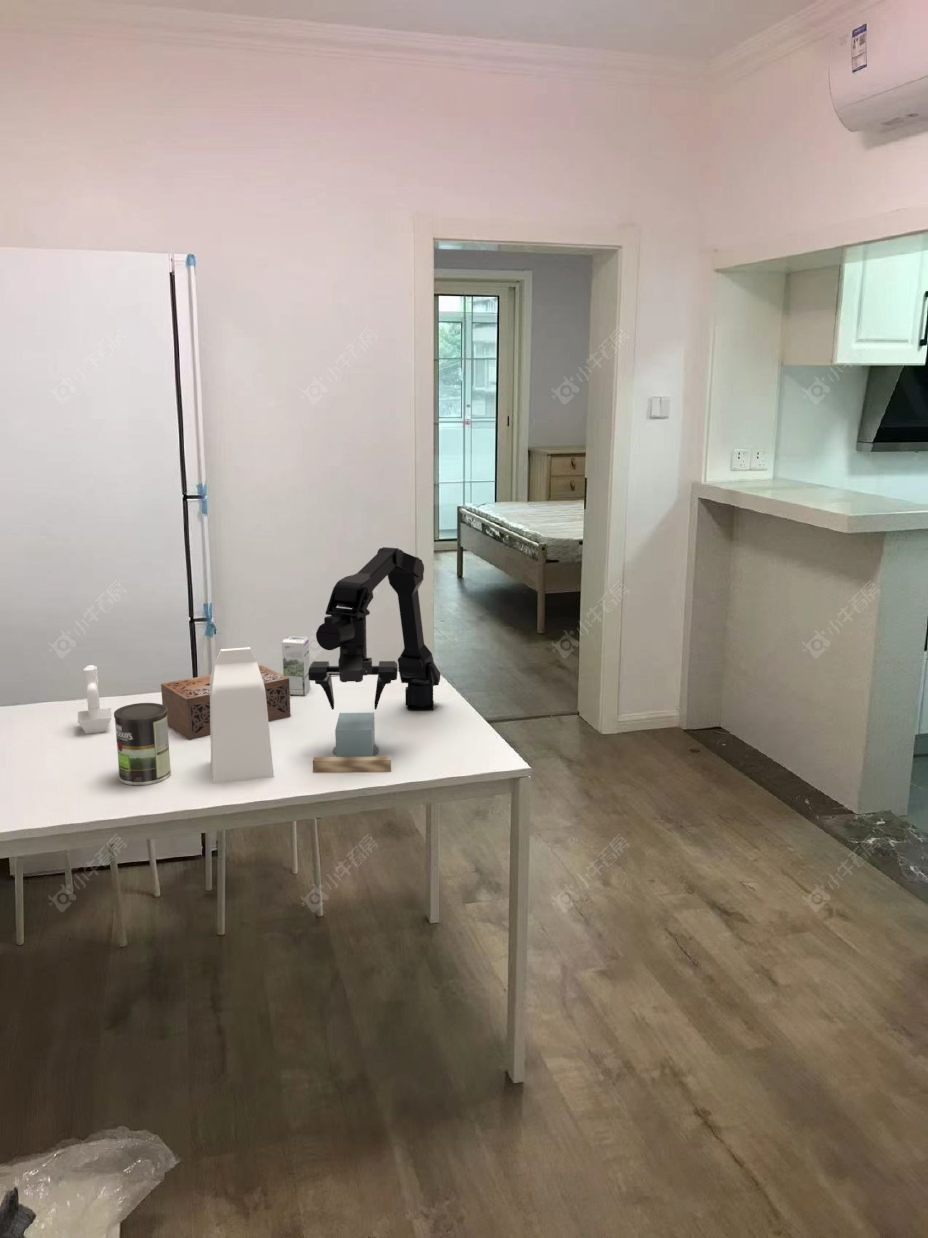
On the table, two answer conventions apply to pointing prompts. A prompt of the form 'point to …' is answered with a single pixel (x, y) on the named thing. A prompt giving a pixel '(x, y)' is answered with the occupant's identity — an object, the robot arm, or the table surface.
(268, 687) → the tissue box cover
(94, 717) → the figurine
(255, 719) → the milk
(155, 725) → the coffee can
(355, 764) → the tan wooden bar
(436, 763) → the table surface
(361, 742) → the light blue rectangular box
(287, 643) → the syrup box
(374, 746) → the gray round object
